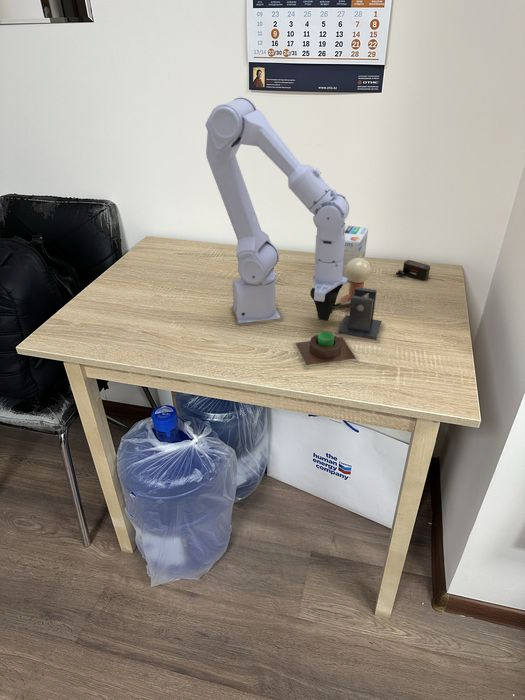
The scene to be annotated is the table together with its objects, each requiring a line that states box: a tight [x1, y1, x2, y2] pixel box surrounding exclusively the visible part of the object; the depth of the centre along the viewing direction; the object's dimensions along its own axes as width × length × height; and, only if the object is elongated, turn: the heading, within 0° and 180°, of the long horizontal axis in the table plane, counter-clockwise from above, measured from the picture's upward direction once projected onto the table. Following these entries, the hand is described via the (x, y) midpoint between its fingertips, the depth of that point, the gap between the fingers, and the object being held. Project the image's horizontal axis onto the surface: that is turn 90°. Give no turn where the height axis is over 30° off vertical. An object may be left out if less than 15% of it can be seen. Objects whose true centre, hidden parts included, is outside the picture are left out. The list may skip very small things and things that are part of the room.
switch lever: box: [331, 293, 370, 314], centre depth 109 cm, size 11×3×3 cm, turn 71°
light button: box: [317, 331, 335, 347], centre depth 102 cm, size 3×3×2 cm
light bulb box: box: [342, 224, 369, 282], centre depth 132 cm, size 11×7×11 cm, turn 159°
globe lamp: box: [340, 258, 372, 312], centre depth 116 cm, size 6×6×12 cm
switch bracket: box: [337, 287, 383, 341], centre depth 109 cm, size 8×7×9 cm
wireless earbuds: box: [395, 259, 431, 281], centre depth 132 cm, size 5×7×3 cm, turn 50°
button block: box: [295, 333, 357, 366], centre depth 103 cm, size 10×8×3 cm
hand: (325, 315), depth 112 cm, fingers closed on switch lever, 3 cm apart
